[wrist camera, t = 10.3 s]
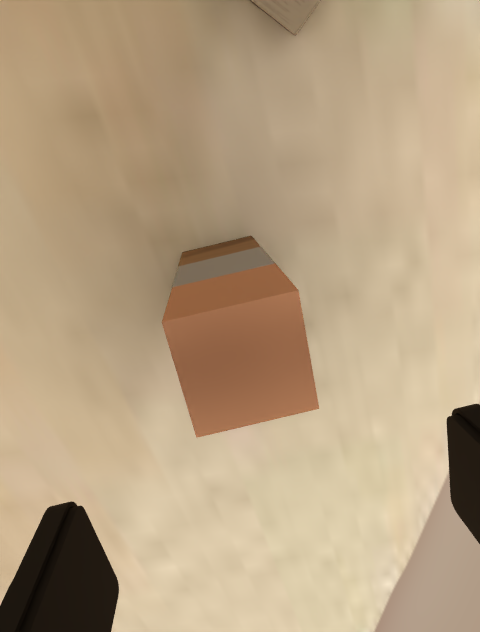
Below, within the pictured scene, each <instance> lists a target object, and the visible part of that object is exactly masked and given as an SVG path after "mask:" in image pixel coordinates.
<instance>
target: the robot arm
mask: <svg viewBox="0 0 480 632" xmlns="http://www.w3.org/2000/svg"><path fill="white" fill-rule="evenodd" d="M447 436H448V455H449V474H450V493H451V501H452V504H453V506H454V509H455V510H456V512H457V514H458V515H459V517H460V518H461V519H462V521H463V522H464V523H465V525H466V526H467V527H468V529H469V530H470V531H471V533H472V534H473V536H474V537H475V538H476V539H477V541H478V542H479V544H480V405H479V404H473V405H469V406H465V407H461V408H457V409H454V410H453V412H452V416H449V417H448V418H447ZM118 594H119V586H118V580H117V577H116V575H115V573H114V571H113V569H112V567H111V564H110V562H109V560H108V558H107V556H106V554H105V552H104V550H103V547H102V545H101V543H100V541H99V539H98V537H97V535H96V533H95V530H94V528H93V526H92V524H91V522H90V520H89V518H88V516H87V513H86V511H85V509H84V508H83V507H82V506H77V505H76V503H74V502H67V503H63V504H59V505H55V506H51V507H49V508H47V510H46V511H45V513H44V515H43V517H42V520H41V522H40V524H39V526H38V528H37V530H36V532H35V535H34V537H33V539H32V541H31V543H30V545H29V547H28V549H27V552H26V554H25V556H24V558H23V560H22V562H21V564H20V566H19V569H18V571H17V573H16V575H15V577H14V579H13V581H12V583H11V584H10V586H9V588H8V590H7V593H6V595H5V597H4V599H3V601H2V603H1V605H0V632H111V629H112V624H113V619H114V614H115V609H116V604H117V599H118Z"/></svg>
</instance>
